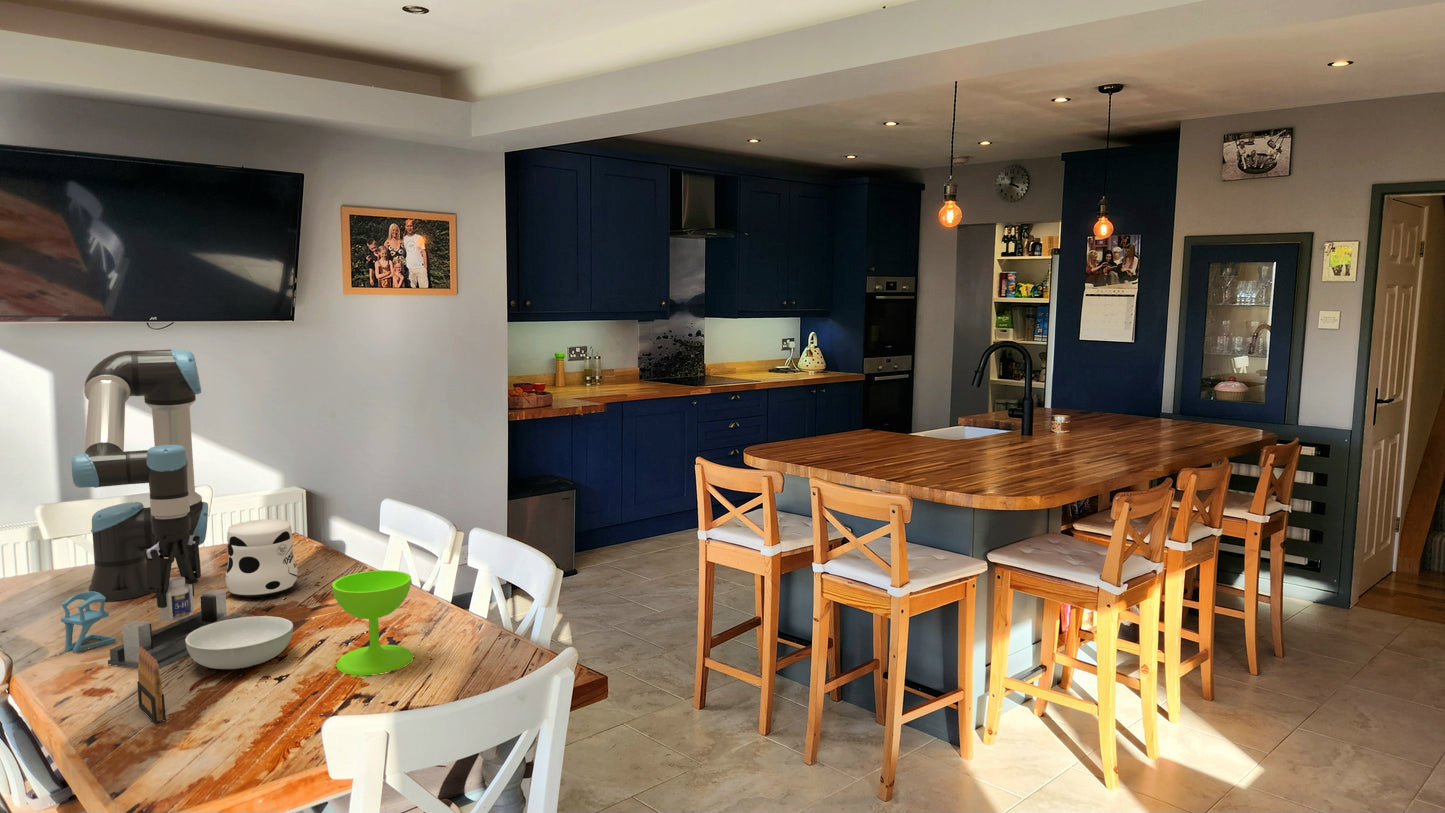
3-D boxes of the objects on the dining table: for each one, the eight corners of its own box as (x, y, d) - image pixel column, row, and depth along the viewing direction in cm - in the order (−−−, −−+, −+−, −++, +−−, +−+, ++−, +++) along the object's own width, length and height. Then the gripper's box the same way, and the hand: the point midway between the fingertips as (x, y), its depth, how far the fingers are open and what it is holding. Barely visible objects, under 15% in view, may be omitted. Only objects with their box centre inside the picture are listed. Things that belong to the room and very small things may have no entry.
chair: (57, 650, 212) (52, 598, 211) (92, 637, 220) (88, 587, 219) (81, 654, 210) (77, 602, 208) (117, 641, 217) (112, 590, 216)
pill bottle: (178, 622, 211) (175, 583, 210) (157, 620, 212) (155, 581, 211) (195, 614, 216) (193, 576, 215) (175, 612, 217) (173, 574, 216)
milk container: (312, 589, 256) (309, 523, 254) (250, 606, 242) (247, 537, 240) (274, 578, 266) (270, 515, 264) (212, 594, 251) (208, 528, 249)
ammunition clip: (138, 706, 184) (134, 646, 183) (149, 703, 185) (145, 643, 184) (154, 723, 177) (150, 661, 175) (166, 720, 178) (162, 659, 176)
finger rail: (200, 624, 229) (198, 587, 228) (243, 628, 226) (241, 591, 225) (107, 664, 204) (104, 624, 203) (154, 670, 201) (151, 629, 200)
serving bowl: (315, 650, 213) (314, 620, 212) (240, 686, 193) (238, 654, 193) (243, 639, 220) (241, 610, 219) (163, 673, 200) (161, 641, 199)
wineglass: (339, 681, 196) (335, 597, 194) (332, 655, 210) (328, 576, 208) (420, 667, 203) (417, 586, 201) (407, 643, 217) (404, 566, 215)
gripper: (188, 505, 221) (194, 602, 224) (121, 523, 204) (129, 628, 206) (215, 507, 219) (221, 604, 222) (151, 525, 202) (158, 631, 205)
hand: (177, 616), depth 214 cm, fingers closed on pill bottle, 5 cm apart
